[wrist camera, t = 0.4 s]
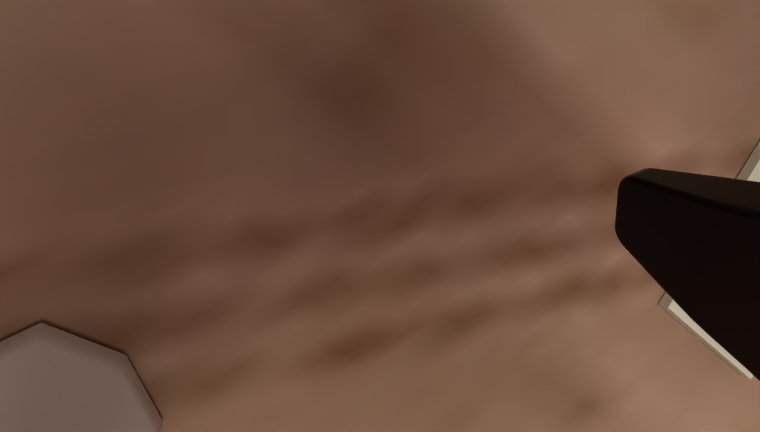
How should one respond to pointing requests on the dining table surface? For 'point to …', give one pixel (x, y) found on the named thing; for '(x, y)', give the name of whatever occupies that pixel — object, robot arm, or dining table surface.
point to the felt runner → (754, 170)
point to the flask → (69, 386)
